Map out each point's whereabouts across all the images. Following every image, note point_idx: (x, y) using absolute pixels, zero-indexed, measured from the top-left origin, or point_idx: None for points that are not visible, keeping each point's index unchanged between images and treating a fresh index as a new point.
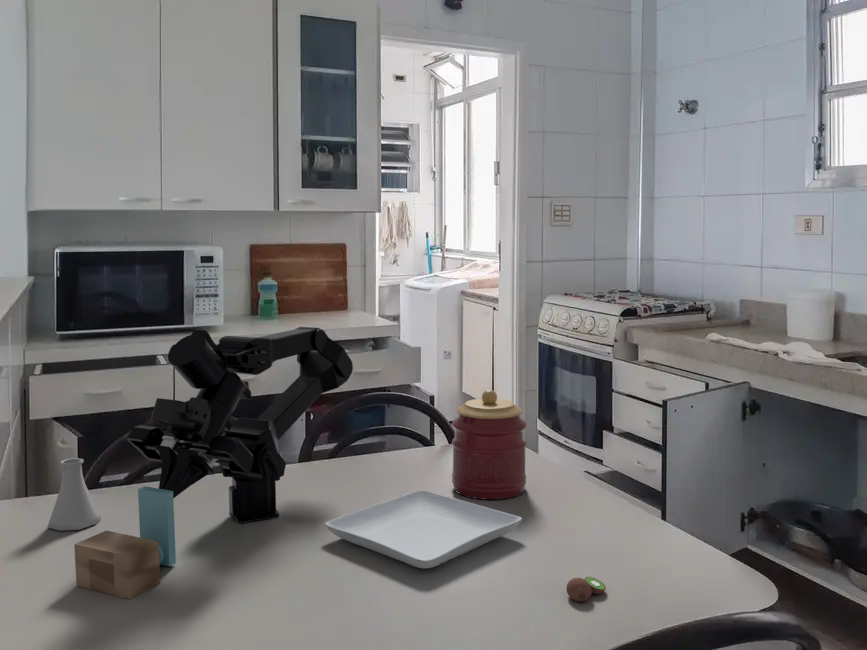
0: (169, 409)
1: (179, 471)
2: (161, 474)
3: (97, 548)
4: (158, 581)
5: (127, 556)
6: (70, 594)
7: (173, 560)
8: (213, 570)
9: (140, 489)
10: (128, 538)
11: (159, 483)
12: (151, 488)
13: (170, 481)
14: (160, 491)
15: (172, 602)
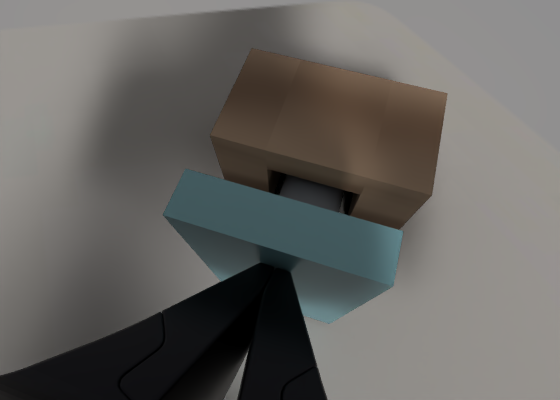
0: None
1: (106, 344)
2: (312, 375)
3: (360, 77)
4: None
5: (252, 49)
6: None
7: None
8: (119, 272)
9: (381, 225)
10: (314, 143)
11: (305, 327)
12: (320, 246)
13: (208, 310)
14: (236, 197)
15: (170, 120)
